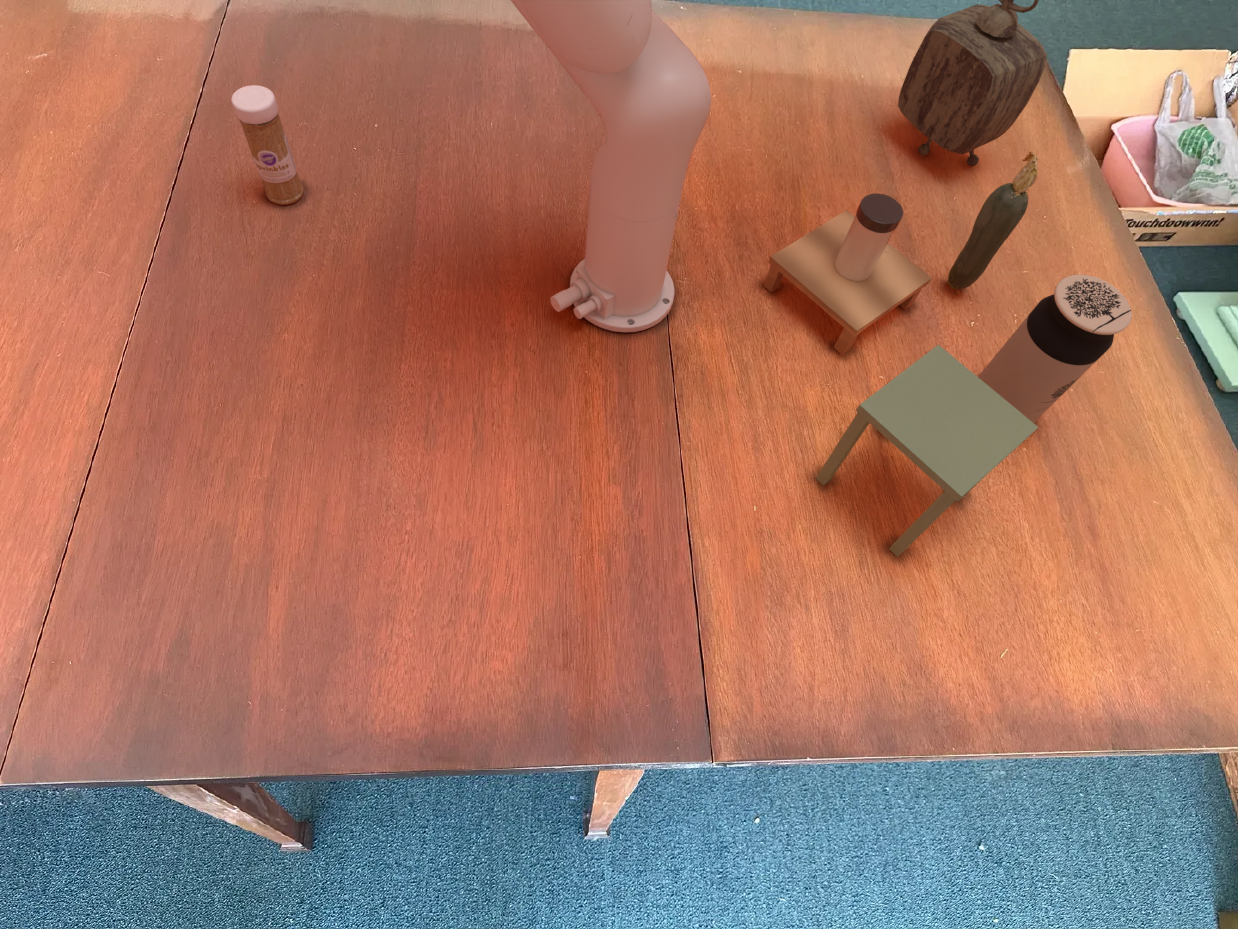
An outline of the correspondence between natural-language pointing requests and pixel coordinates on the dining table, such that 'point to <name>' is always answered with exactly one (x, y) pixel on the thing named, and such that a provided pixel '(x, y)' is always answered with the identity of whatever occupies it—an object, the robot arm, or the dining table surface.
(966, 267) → the vegetable
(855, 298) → the low shelf
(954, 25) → the tabletop clock
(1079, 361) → the travel mug
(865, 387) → the dining table surface
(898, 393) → the tall stand
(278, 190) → the sprinkles bottle
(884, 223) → the spice jar
